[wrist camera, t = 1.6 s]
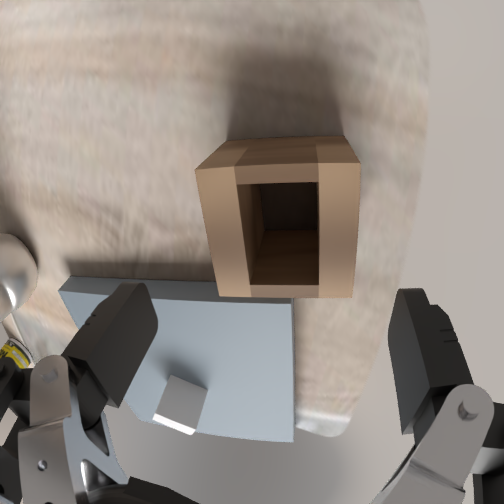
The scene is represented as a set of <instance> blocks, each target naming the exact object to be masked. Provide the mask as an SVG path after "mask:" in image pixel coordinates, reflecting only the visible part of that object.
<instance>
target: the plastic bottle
mask: <svg viewBox="0 0 504 504" xmlns="http://www.w3.org/2000/svg"><path fill="white" fill-rule="evenodd" d="M37 280H38V270H37V266H36V263H35V261H34V258H33V257H32V255H31V253H30V252H29V250H28V249H27V247H26V246H25V245H24V244H23V243H22V242H21V241H20V240H19V239H18V238H17V237H15V236H14V235H11V234H0V323H1V322H2V321H3V320H4V319H5V318H6V317H7V316H8V315H9V314H10V313H12V312H14V311H15V310H17V309H18V308H19V307H21V306H22V305H23V304H24V303H25V302H27V301H28V300H29V298H30V296H31V295H32V293H33V292H34V290H35V288H36V286H37Z"/></svg>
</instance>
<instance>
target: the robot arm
mask: <svg viewBox="0 0 504 504" xmlns="http://www.w3.org/2000/svg"><path fill="white" fill-rule="evenodd" d="M84 323H85V324H84V325H82V327H81V328H80V329H79V331H78V332H77V333H76V335H75V336H74V337H73V339H72V340H71V342H70V343H69V344H68V346H67V347H66V349H65V350H64V352H63V353H62V354H61V356H59V355H51V356H48V357H45V358H43V359H42V360H40V361H39V362H38V363H37V364H36V365H35V367H34V368H19V366H18V365H17V364H16V362H15V361H14V359H13V358H11V357H2V358H0V421H1V419H2V418H3V416H4V414H5V412H6V410H7V408H8V407H9V408H10V409H11V410H12V411H13V412H14V413H15V415H16V416H18V418H17V420H16V422H15V424H14V426H13V428H12V430H11V431H10V433H9V435H8V437H7V439H6V441H5V443H4V445H3V446H0V504H20V502H21V499H22V497H23V504H199V503H197V502H195V501H192V500H191V499H189V498H187V497H185V496H183V495H181V494H179V493H177V492H175V491H173V490H171V489H169V488H167V487H164V486H160V485H157V484H153V483H149V482H147V481H143V480H140V479H137V478H134V477H131V476H130V478H129V480H128V478H127V476H126V474H125V473H124V471H123V470H122V468H121V467H120V465H119V463H118V461H117V458H116V455H115V451H114V448H113V444H112V440H111V436H110V432H109V428H108V424H107V419H106V415H105V413H104V411H103V409H104V407H105V405H109V406H113V407H116V408H119V406H120V404H121V402H122V400H123V398H124V396H125V394H126V392H127V390H128V388H129V386H130V384H131V382H132V380H133V378H134V376H135V374H136V372H137V371H138V369H139V367H140V365H141V363H142V361H143V359H144V357H145V355H146V353H147V351H148V349H149V347H150V345H151V343H152V342H153V340H154V338H155V336H156V334H157V330H158V318H157V314H156V312H155V309H154V306H153V303H152V300H151V297H150V294H149V292H148V289H147V286H146V285H145V284H144V283H140V282H122V283H121V284H120V285H119V286H118V287H117V288H116V290H115V291H114V292H113V294H112V295H110V296H108V297H107V298H106V299H104V300H103V301H102V302H100V303H99V304H98V305H97V307H96V308H95V309H94V310H93V312H92V313H91V316H89V317H88V318H87V320H86V321H85V322H84ZM388 346H389V351H390V356H391V362H392V367H393V373H394V380H395V386H396V392H397V399H398V407H399V414H400V421H401V431H402V435H403V434H412V433H414V439H415V444H414V445H413V446H412V448H411V449H410V451H409V452H408V454H407V455H406V457H405V458H404V460H403V461H402V462H401V464H400V465H399V467H398V468H397V470H396V471H395V472H394V474H393V475H392V476H391V478H390V479H389V480H388V482H387V483H386V485H385V486H384V487H383V488H382V490H381V491H380V492H379V493H378V494H377V496H376V497H375V498H374V499H373V500H372V501H371V502H370V503H369V504H462V502H463V499H464V497H465V490H464V489H463V485H464V483H465V480H466V478H467V477H468V474H469V473H473V484H474V485H473V486H474V504H504V404H501V403H495V402H493V401H492V399H491V397H490V396H489V394H488V393H487V392H486V391H485V390H484V389H482V388H481V387H479V386H476V385H474V383H473V380H472V377H471V374H470V371H469V368H468V366H467V363H466V360H465V357H464V354H463V351H462V349H461V346H460V344H459V343H458V338H457V336H456V333H455V332H454V328H453V326H452V324H451V321H450V319H449V316H448V315H447V314H446V313H445V312H444V311H443V310H442V309H441V308H440V307H439V306H438V305H430V304H429V301H428V299H427V296H426V294H425V292H424V290H423V289H422V288H411V289H410V288H408V289H399V290H398V291H397V294H396V299H395V303H394V307H393V312H392V316H391V320H390V324H389V329H388Z"/></svg>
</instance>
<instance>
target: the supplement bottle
mask: <svg viewBox="0 0 504 504" xmlns="http://www.w3.org/2000/svg"><path fill="white" fill-rule="evenodd" d="M2 357H11V358H13V359H14V361H15V362H16V364H17V365H18V366H19V368H27V367H28V366H29V364H30V363H31V361H32V357H31V355H30V353H29V352H28V350H27V349H26V348H25V347H24V346H23V345H22V344H21V343H20V342H18V341H17V340H15V339H13V338H10V339H9V340H8V341H7V342H6V343H5V345H4V346H3V347H2V349H1V350H0V358H2Z"/></svg>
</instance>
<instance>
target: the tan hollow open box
mask: <svg viewBox="0 0 504 504" xmlns="http://www.w3.org/2000/svg"><path fill="white" fill-rule="evenodd" d="M360 172H361V163H360V161H359V160H358V158H357V156H356V154H355V153H354V151H353V149H352V148H351V146H350V144H349V143H348V141H347V140H346V138H345V136H300V137H276V138H258V139H244V140H232V141H226V142H224V143H223V144H222V145H221V146H220V147H219V148H218V149H217V150H216V151H214V152H213V153H212V154H211V155H210V156H209V157H208V158H207V159H206V160H205V161H204V162H202V163H201V164H200V165H199V166H198V167H197V168H196V169H195V174H196V180H197V185H198V191H199V196H200V202H201V207H202V212H203V218H204V223H205V228H206V233H207V238H208V243H209V248H210V253H211V258H212V263H213V268H214V273H215V277H216V282H217V287H218V292H219V296H226V297H268V298H352V294H353V285H354V275H355V264H356V253H357V239H358V224H359V204H360ZM289 182H316V186H317V230H274V231H264V223H263V213H262V203H261V193H260V183H289Z"/></svg>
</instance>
